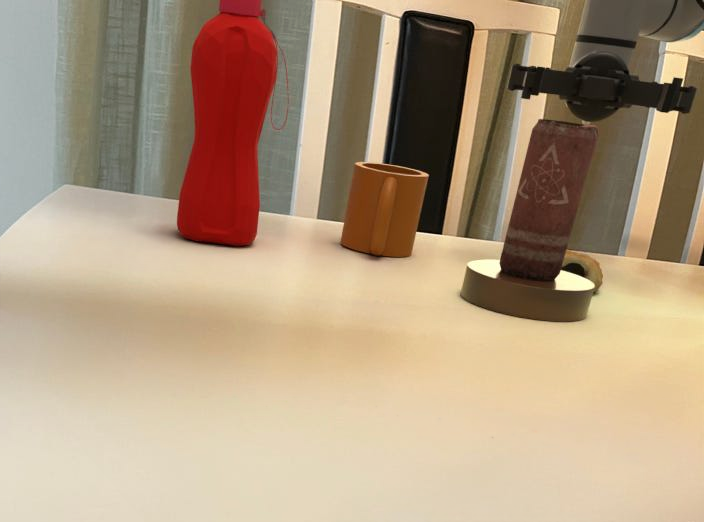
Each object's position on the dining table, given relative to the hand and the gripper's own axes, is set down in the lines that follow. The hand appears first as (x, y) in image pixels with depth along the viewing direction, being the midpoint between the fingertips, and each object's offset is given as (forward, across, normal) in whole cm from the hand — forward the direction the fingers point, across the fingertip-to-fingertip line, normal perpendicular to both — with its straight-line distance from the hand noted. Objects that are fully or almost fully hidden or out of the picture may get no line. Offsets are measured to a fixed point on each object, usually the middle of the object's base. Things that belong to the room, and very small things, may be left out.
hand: (602, 89), depth 106 cm
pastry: (0, -2, -20) cm, 20 cm away
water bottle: (+9, +37, -20) cm, 43 cm away
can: (+16, +3, -17) cm, 23 cm away
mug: (0, +21, -20) cm, 29 cm away
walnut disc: (+15, +3, -20) cm, 25 cm away
